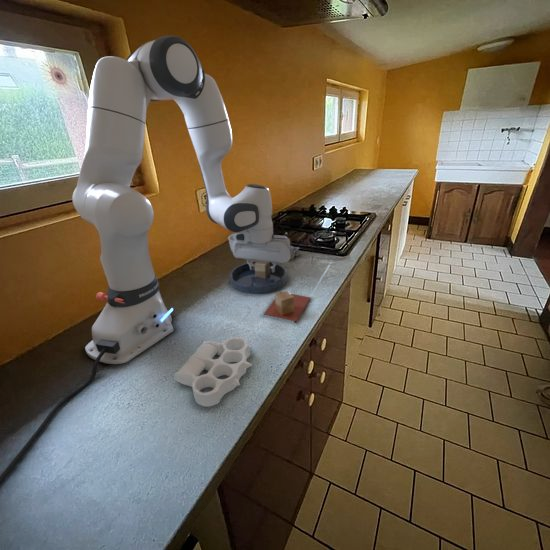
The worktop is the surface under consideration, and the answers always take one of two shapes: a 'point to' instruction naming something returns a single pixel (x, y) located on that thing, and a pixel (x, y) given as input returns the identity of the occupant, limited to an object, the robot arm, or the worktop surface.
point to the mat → (299, 307)
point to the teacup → (231, 241)
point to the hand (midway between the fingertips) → (262, 270)
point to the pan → (257, 279)
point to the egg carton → (293, 252)
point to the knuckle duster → (215, 369)
